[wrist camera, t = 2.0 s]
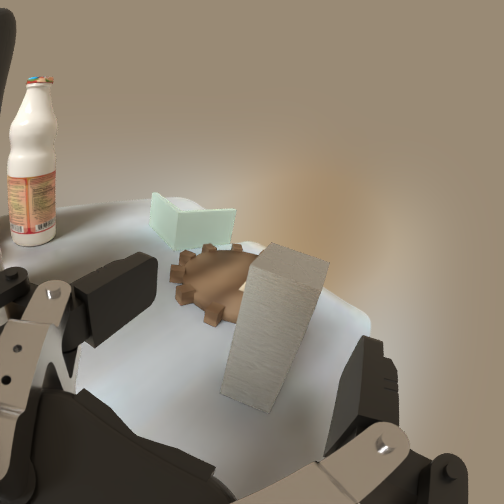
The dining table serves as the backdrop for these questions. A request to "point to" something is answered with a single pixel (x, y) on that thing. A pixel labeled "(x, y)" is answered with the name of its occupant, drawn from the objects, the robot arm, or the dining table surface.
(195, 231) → the l-shaped corner panel
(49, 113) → the fruit juice
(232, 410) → the dining table surface
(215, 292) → the sprocket plate
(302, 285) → the brushed metal block
